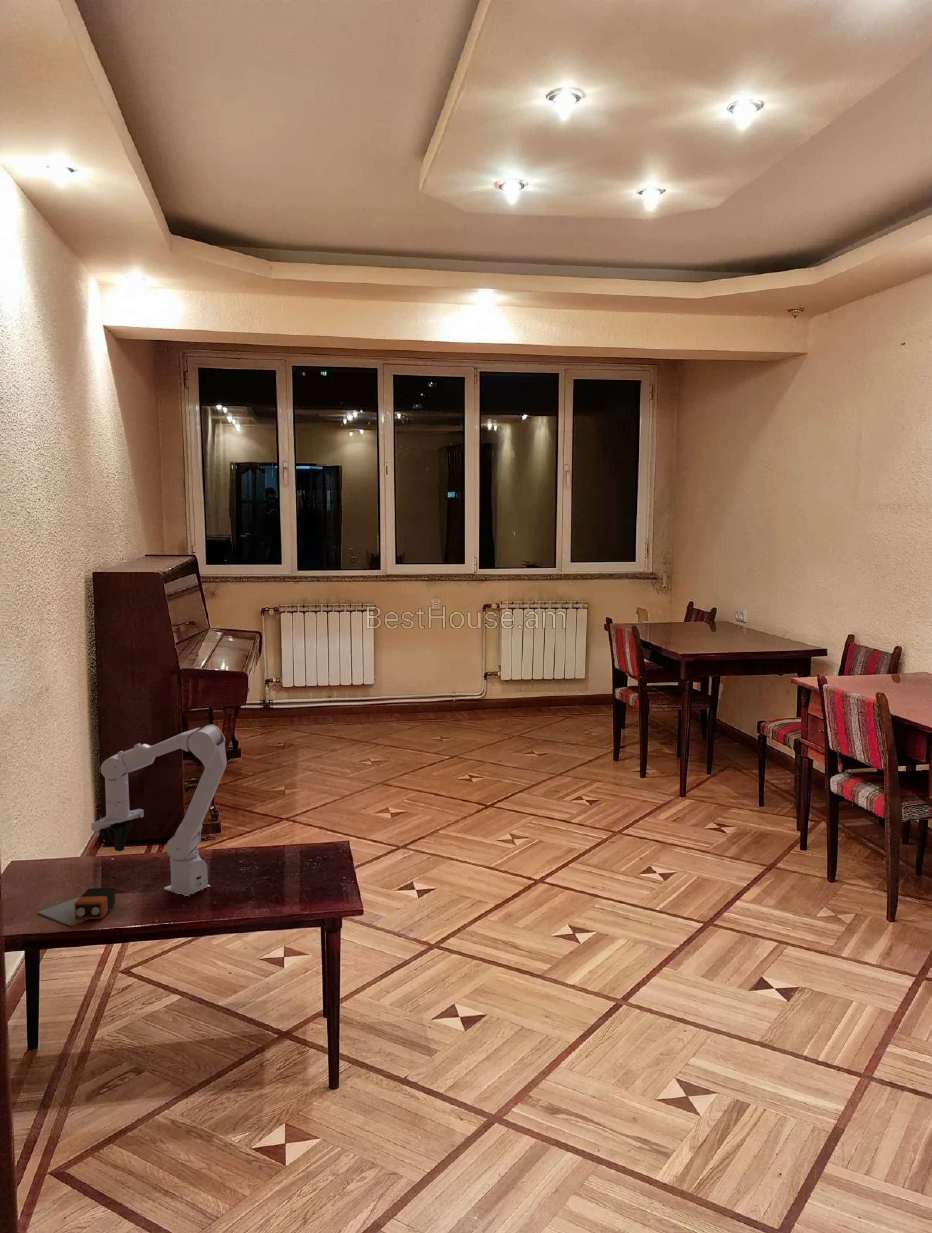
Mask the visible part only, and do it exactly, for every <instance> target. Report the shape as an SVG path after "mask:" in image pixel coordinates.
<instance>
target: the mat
mask: <svg viewBox="0 0 932 1233" xmlns="http://www.w3.org/2000/svg"><path fill="white" fill-rule="evenodd" d="M80 897H81V896H80ZM80 897H79V896H78V897H75V898H72V899H70V900H66V901H64V902H61V903H59V904H56V905H53V906H50V907H48V908H45V909H42V910H40V911H37V914H38V915H40V916H43V917H45V918H48V919H50V920H52V921H55V922H57V923H60V924H62V923H63V925H65V924H67V925H69V926H68V927H70V926H71V925H73V924H76V925H78V924H77V923H79V922H80V921H84V922H86V921H88V920H87V919H75V907H74V903H75V902H76V901H77V900H78V899H79V898H80ZM111 911H112V908H111V909H110V910H109V912H111ZM85 920H86V921H85ZM79 924H80V923H79ZM67 925H66V926H67ZM71 927H72V926H71Z"/></svg>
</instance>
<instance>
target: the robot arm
mask: <svg viewBox="0 0 932 1233" xmlns="http://www.w3.org/2000/svg"><path fill="white" fill-rule="evenodd" d="M179 749H181V750H182V751H185V752H189V751H190V752H191V753H192V754H193V756H195V757H196V758H197V759H198V760H200V762H201V763H202V765H203V767H204V770H203V773H202V774H201V776H200V779H199V781H198V784H197V787H196V789H195V791H194V794H193V796H192V798H191V801H190V804H189V805H188V808H187V810H186V812H185V815H184V817H183V819H182V821H181V823H180V824H179V825H178V827H177V829H176V831H175V834H174V835H173V836H172V837H171V838H170V839H169V840H168V841H167V843H166V845H165V847H166V849H165V850H166V853H167V855H168V856H169V859H170V860H169V861H170V863H169V864H170V885H168V886H164V888H163V889H164V891H168V892H170V891H171V893H173V892H174V894H177V895H179V894H182V895H184V896H183V897H185V896H188V897H190V896H191V895H190V894H193V895H195V894H196V893H195V892H198V891H200V890H202V891H204V890H203V889H204V888H206V887H210V886H211V885H210V884H209V882H208V879H209V878H208V877H209V876H208V874H209V873H208V865H207V863H206V861H205V860H204V859H202V858H201V856H200V854H199V849H198V846H199V845H200V843H201V841H202V833H201V832H202V829H203V823H204V821H205V817H206V815H207V813H208V810H209V808H210V806H211V803H212V801H213V798H214V797H215V794H216V792H217V790H218V787H219V784H220V782H221V780H222V777H223V775H224V773H225V771H226V768H227V765H228V761H227V760H228V759H227V754H226V737H225V736H224V734H223V732H222V731H221V729H220V728H219V726H217V725H214V724H207V725H205V726H203V727H196V728H193V729H190V730H187V731H184V732H181V733H178V734H177V735H174V736H172V737H170V738H168V739H165V740H162V741H160V742H158V743H156V744H153V745H151V744H150V745H149V744H147V743H142V744H141V743H140V742H139V743H136V744H134V745H133V748H130V749H127V750H125V751H123V750H121V751H118V752H117V753H116V754H114V755H112V756H110V757H108V758H107V759H105V760H103V762H102V763H101V765H100V772H101V775H102V776H103V777H104V783H105V784H104V789H105V812H106V815H105V816H104V817H102V818H100V819H99V820H96V821H93V822H91V823H90V824H91V831H93V832H99V831H100V830H102V829H105V830H106V832H107V834H108V835H109V838H110V839H111V841H112V845H113V847H114V850H115V851H117V852H122V851H124V850H125V846H126V842H127V839H128V836H129V833H130V831H131V830H132V827H133V822H132V820H134V819H135V820H136V819H138V818H143V817H145V815H144V814H145V813H144V812H145V811H144V809H141V808H137V809H132V810H130V794H129V793H130V792H129V791H130V790H129V773H132V772H134V771H138V770H140V769H143V768H146V767H147V766H148V767H149V766H150V765H152V764H153V763H154V762H155V759H156V757H160V756H163V755H166V754H168V753H171V752H174V751H176V750H179ZM210 888H211V887H210ZM200 892H201V891H200ZM194 893H195V894H194ZM198 893H199V892H198ZM182 895H181V896H182ZM189 895H190V896H189Z"/></svg>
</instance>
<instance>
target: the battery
mask: <svg viewBox="0 0 932 1233" xmlns="http://www.w3.org/2000/svg"><path fill="white" fill-rule="evenodd" d="M115 904H116V891H115V888H114V887H99V888H98V887H97V888H95V887H94V888H88V889H87V890H85V892H84V893H83V894H81V896H80V898H79V899H78V900H77V901H76V902H75V903H74V907H75V919H89V920H93V919H95V920H97V919H98V920H99V919H103V918H104V917H105V916H106V914H108V913H109V912H110V911H109V910H110V909H111V910H112V907H113V906H114V905H115ZM108 911H109V912H108Z"/></svg>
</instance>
